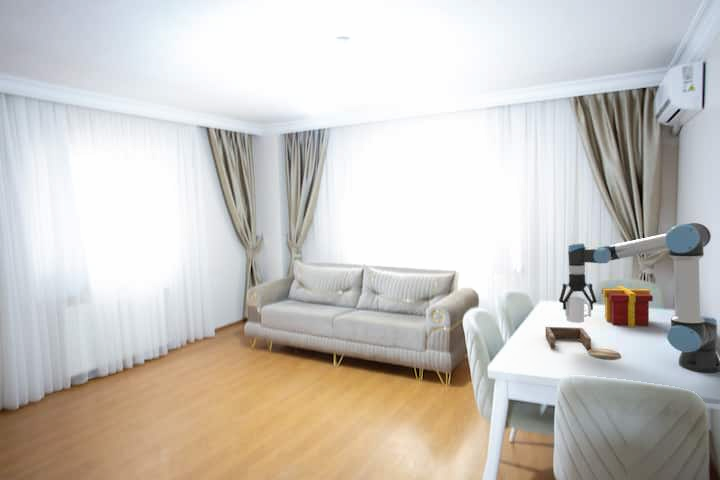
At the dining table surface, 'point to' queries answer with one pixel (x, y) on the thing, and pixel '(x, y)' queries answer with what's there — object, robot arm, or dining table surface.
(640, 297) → the gift box
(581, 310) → the mug
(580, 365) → the dining table surface
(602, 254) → the robot arm
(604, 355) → the coaster
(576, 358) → the dining table surface
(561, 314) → the dining table surface
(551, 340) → the cradle
